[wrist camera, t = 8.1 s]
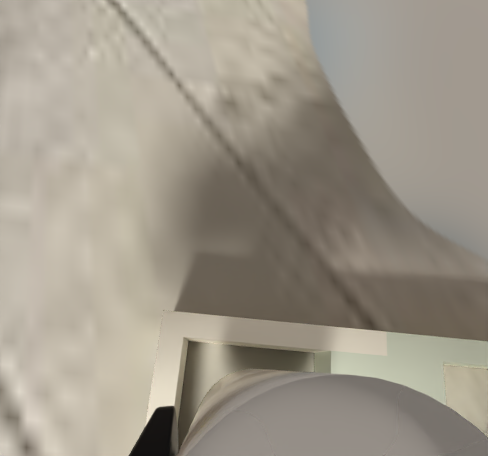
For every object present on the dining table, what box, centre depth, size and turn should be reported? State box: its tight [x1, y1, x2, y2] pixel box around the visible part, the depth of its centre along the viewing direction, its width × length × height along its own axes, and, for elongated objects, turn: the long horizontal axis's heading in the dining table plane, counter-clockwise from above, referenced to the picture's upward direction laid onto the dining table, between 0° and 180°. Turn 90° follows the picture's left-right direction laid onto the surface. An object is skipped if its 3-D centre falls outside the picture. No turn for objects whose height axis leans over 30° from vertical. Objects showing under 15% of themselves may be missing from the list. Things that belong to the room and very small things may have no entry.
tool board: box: [145, 310, 488, 426], centre depth 17 cm, size 19×8×3 cm, turn 85°
